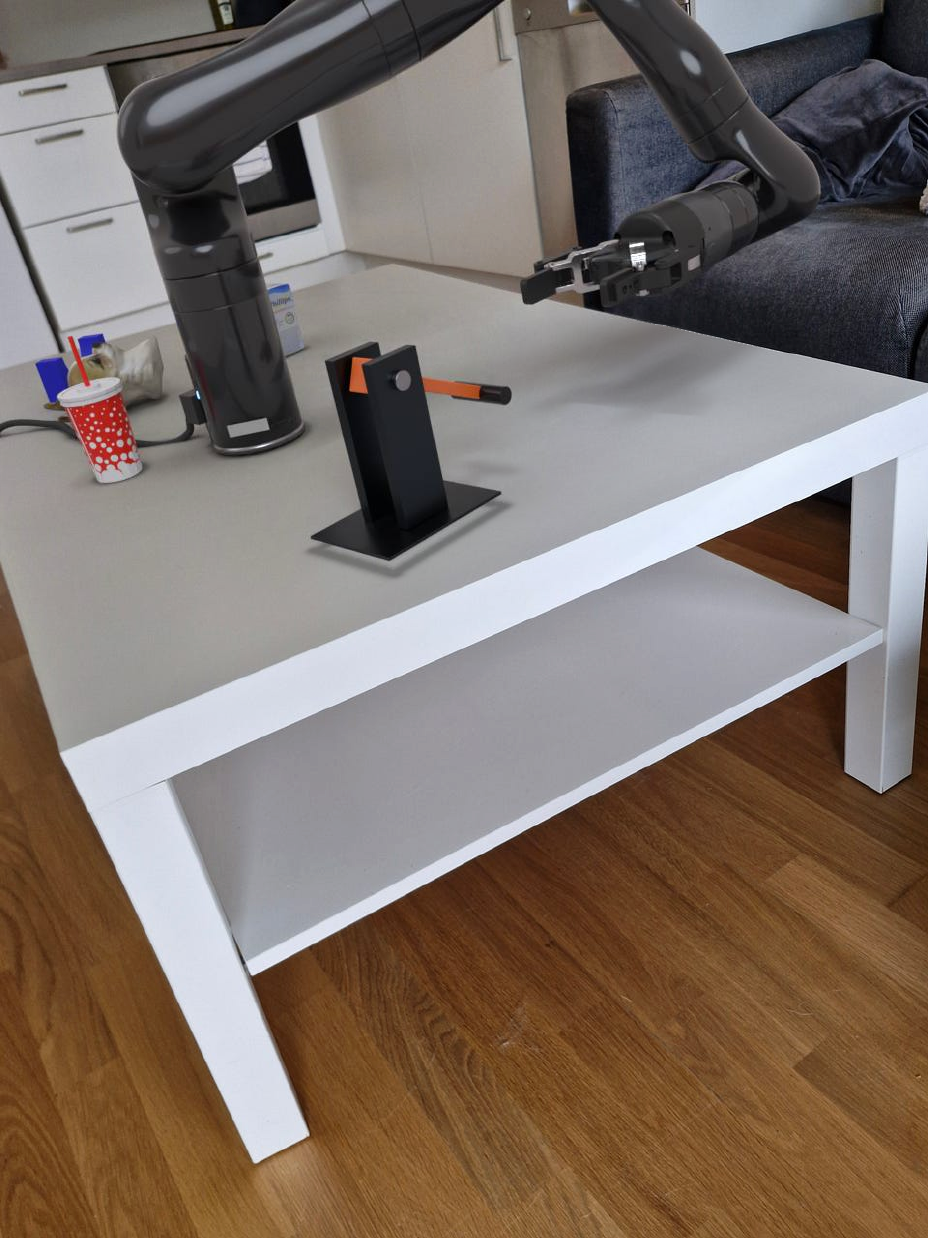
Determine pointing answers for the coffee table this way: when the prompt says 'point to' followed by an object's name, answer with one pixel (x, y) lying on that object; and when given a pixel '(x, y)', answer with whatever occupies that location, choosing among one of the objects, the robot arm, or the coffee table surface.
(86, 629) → the coffee table surface
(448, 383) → the clamp lever
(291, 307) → the medicine box
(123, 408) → the beverage cup
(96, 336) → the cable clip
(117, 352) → the ceramic sculpture
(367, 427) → the black lever stand
